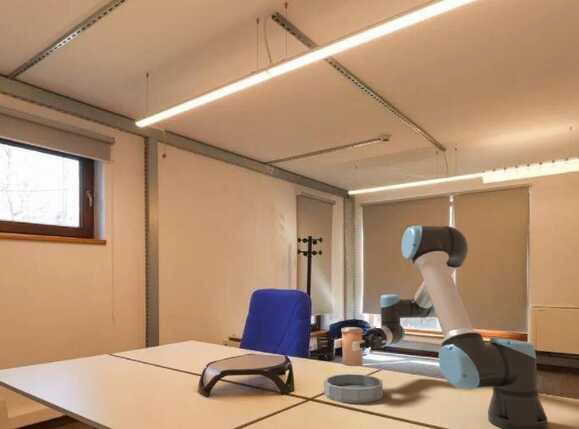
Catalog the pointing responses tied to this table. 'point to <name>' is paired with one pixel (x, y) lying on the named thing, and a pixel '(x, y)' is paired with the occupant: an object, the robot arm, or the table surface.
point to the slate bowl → (353, 388)
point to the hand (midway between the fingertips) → (344, 345)
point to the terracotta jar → (351, 346)
